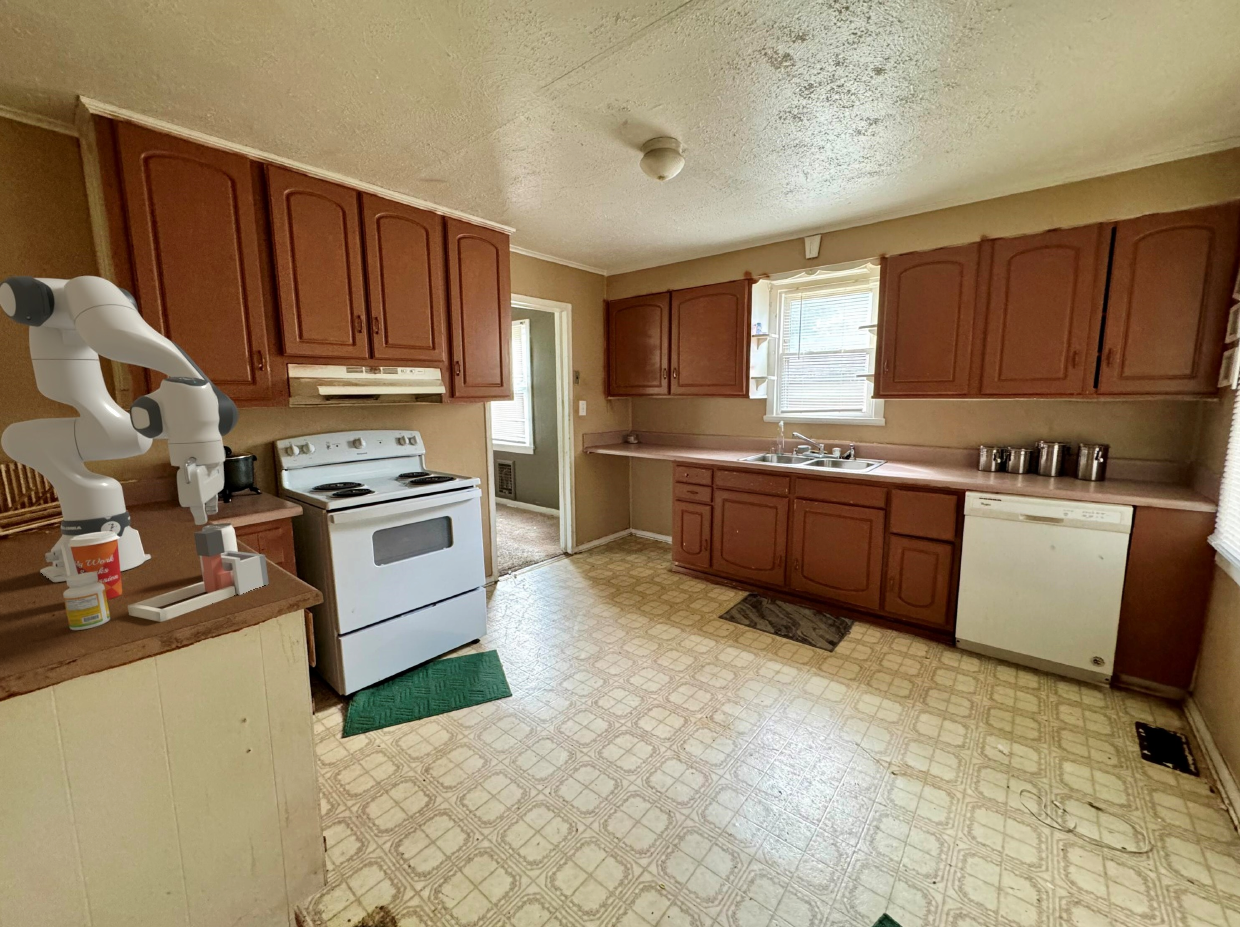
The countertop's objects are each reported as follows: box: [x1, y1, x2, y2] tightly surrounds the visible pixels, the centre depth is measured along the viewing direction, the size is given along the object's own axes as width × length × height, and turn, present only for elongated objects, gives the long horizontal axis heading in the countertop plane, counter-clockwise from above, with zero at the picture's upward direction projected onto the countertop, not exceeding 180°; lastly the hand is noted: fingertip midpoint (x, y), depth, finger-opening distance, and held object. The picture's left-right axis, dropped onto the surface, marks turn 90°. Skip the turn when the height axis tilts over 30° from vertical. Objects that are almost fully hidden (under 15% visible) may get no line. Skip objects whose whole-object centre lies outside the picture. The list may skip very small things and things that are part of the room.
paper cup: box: [68, 531, 123, 601], centre depth 109 cm, size 8×8×14 cm
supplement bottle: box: [62, 572, 111, 631], centre depth 95 cm, size 5×5×10 cm
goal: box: [199, 551, 270, 596], centre depth 113 cm, size 12×6×8 cm, turn 69°
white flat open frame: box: [127, 581, 237, 623], centre depth 104 cm, size 10×13×2 cm
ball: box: [230, 570, 235, 587], centre depth 113 cm, size 4×4×4 cm
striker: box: [193, 529, 232, 594], centre depth 109 cm, size 6×3×14 cm, turn 69°
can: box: [201, 522, 239, 552], centre depth 122 cm, size 6×6×12 cm
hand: (207, 518), depth 108 cm, fingers open, 8 cm apart
